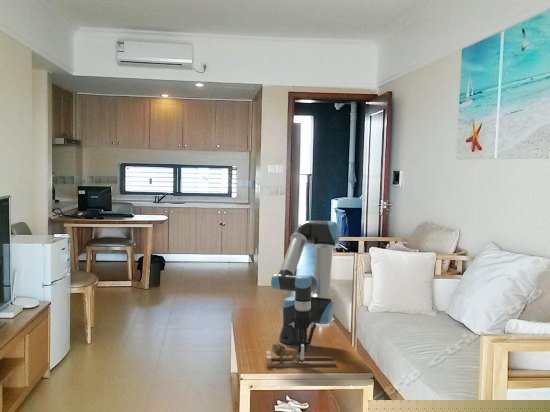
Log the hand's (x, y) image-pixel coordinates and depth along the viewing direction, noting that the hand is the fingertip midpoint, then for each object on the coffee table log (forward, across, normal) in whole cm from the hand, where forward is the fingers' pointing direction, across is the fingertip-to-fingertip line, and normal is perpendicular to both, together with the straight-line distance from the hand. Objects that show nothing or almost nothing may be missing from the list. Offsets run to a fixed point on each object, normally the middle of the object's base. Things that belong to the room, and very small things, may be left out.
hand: (302, 358), depth 249 cm
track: (+2, 0, 0) cm, 2 cm away
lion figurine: (+2, -7, 0) cm, 8 cm away
